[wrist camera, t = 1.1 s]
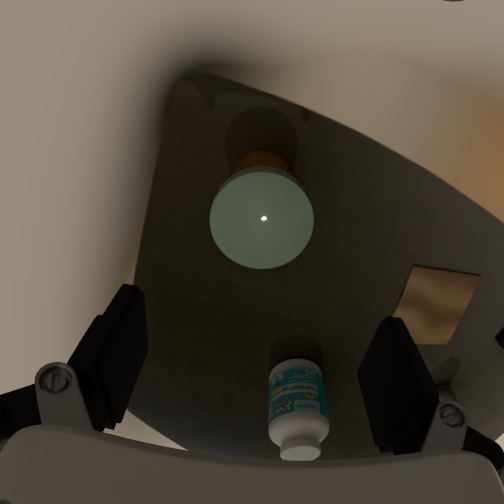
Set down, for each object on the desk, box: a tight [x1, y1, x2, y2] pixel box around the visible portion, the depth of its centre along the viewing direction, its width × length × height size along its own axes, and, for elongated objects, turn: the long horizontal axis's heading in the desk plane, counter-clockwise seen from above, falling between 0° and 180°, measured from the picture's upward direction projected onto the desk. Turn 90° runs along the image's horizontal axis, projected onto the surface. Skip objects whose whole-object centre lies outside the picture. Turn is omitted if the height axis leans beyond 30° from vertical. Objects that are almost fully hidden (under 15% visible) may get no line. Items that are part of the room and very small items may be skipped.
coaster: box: [392, 265, 481, 344], centre depth 37 cm, size 12×12×1 cm
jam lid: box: [210, 165, 314, 269], centre depth 22 cm, size 7×7×2 cm
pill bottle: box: [269, 359, 329, 461], centre depth 37 cm, size 8×7×14 cm
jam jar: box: [228, 151, 295, 179], centre depth 26 cm, size 6×6×11 cm
